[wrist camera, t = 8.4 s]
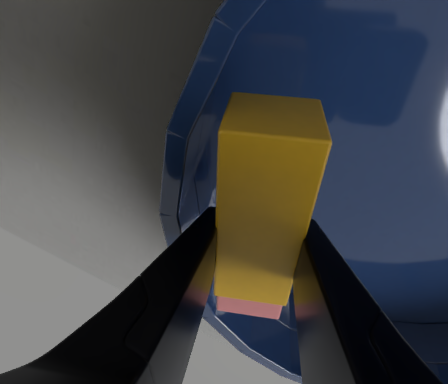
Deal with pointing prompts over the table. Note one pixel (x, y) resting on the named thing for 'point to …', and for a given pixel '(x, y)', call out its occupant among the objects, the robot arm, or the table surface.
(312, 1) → the bowl
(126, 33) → the table surface
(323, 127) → the pencil
